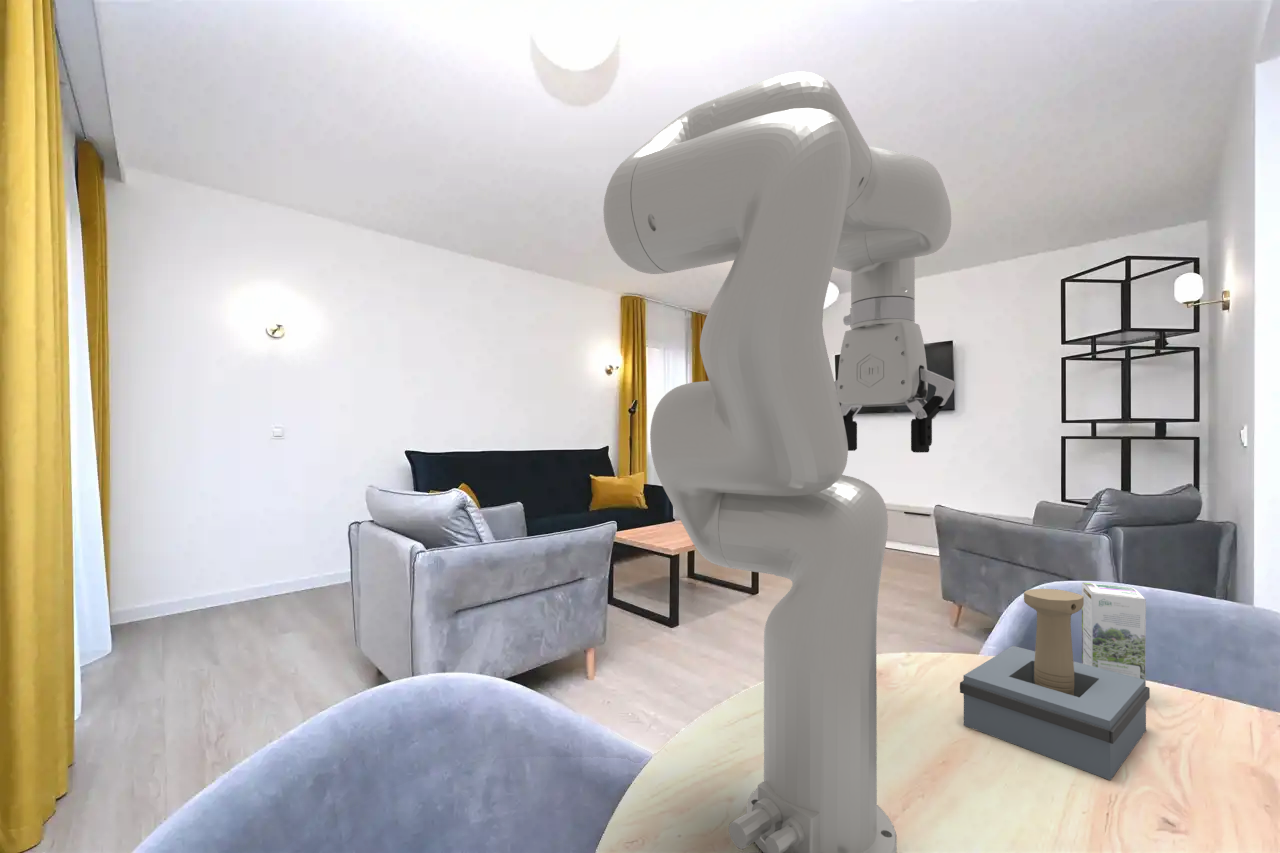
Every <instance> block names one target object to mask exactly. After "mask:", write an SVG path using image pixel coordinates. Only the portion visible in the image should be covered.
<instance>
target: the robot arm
mask: <svg viewBox="0 0 1280 853" xmlns="http://www.w3.org/2000/svg"><path fill="white" fill-rule="evenodd" d="M951 208H952V207H951V203H950V200H949V196H948V192H947V190H946V186H945V184H944V181H943V179H942V176H941V174H940V172H939V171H938V169H937V168H936V167H935V166H934V165H933V163H930V161H928V160H926V159H924V158H921V157H919V156H915V155H912V154H909V153H903V152H898V151H894V150H890V149H885V148H881V147H876V146H869V145H868V144H867V142H866V140H865V139H864V136H863V134H862V133H861V132H860V129H859V128H858V126H857V124H856V122H855V120H854V118H853V116H852V115H851V113H850V111H849V109H848V108H847V106H846V104H845V102H844V100H843V98H842V97H841V95H840V94H839V92H838V90H837V89H836V88H835V86H834V85H833V84H832V83H831V82H830V81H829V80H828V79H826V78H825V77H823V76H822V75H820V74H816V73H814V72H810V71H793V72H792V71H791V72H787V73H783V74H779V75H775V76H772V77H770V78H766V79H764V80H762V81H758V82H756V83H754V84H750V85H748V86H745V87H743V88H740V89H738V90H736V91H733V92H730V93H727V94H724V95H722V96H719V97H716V98H713V99H711V100H709V101H706V102H703V103H700V104H698V105H696V106H694V107H692V108H690V109H689V110H687V111H685V112H684V113H683V114H681V115H680V116H678V117H676V118H675V119H674V120H672V121H671V122H670V123H669V124H668V125H667V126H665V127H664V128H663V129H661V130H660V131H659V132H658V133H656V134H655V135H654V136H653V137H651V138H650V139H649V140H648V141H647V142H646V143H644V144H643V145H641V147H639V148H638V149H637V150H635V151H634V152H633V153H631V154H630V155H629V156H628V157H627V158H625V160H623V161H622V162H621V163H620V164H619V166H617V168H616V170H615V171H614V172H613V173H612V176H611V178H610V180H609V182H608V184H607V187H606V191H605V194H604V201H603V223H604V227H605V232H606V235H607V238H608V241H609V243H610V246H611V247H612V249H613V251H614V253H616V255H617V256H618V257H619V259H620V260H621V261H622V262H623V263H625V264H626V265H627V266H628V267H630V268H631V269H634V270H636V271H637V272H639V273H645V274H650V275H659V274H661V275H663V274H668V273H675V272H681V271H685V270H690V269H696V268H702V267H707V266H711V265H717V264H724V263H727V262H731V261H733V263H732V265H731V267H730V269H729V272H728V274H727V276H726V277H725V279H724V281H723V283H722V285H721V286H720V289H719V291H718V292H717V294H716V295H715V298H714V300H713V301H712V304H711V305H710V307H709V310H708V313H707V315H706V316H705V319H704V323H703V327H702V330H701V335H700V339H699V340H700V341H699V352H700V356H701V360H702V364H703V367H704V370H705V373H706V376H707V378H708V380H705V381H704V380H703V381H694V382H689V383H688V382H687V383H684V384H680V385H679V386H676V387H674V388H672V389H670V391H668V392H667V393H665V395H664V396H662V398H661V399H660V400H659V401H658V403H657V405H656V407H655V409H654V412H653V415H652V419H651V424H650V433H649V441H650V452H651V457H652V463H653V465H654V469H655V472H656V474H657V477H658V480H659V481H660V484H661V485H662V488H663V490H664V492H665V493H666V495H667V497H668V500H669V501H670V502H671V505H672V507H673V508H674V510H675V513H676V514H677V516H678V518H679V520H680V522H681V524H682V526H683V527H684V529H685V531H686V533H687V535H688V537H689V538H690V540H691V542H692V544H693V546H694V547H695V548H696V550H697V552H698V553H699V554H700V555H701V556H702V557H703V558H704V559H705V560H706V561H708V562H709V563H711V564H714V565H716V566H720V567H723V568H727V569H734V570H741V571H748V572H752V573H753V572H754V573H761V574H768V575H774V576H776V577H780V578H785V579H788V580H790V581H791V582H792V585H791V588H790V589H789V590H788V592H787V593H786V594H785V595H784V596H783V597H782V598H781V599H780V600H779V601H778V602H777V603H776V604H775V606H774V607H773V608H772V610H771V611H770V613H769V614H768V616H767V619H766V621H765V626H764V630H763V632H764V633H763V781H762V782H760V783H758V784H757V788H755V789H754V791H753V792H752V793H751V794H750V796H749V798H748V799H747V803H746V813H744V814H743V815H741V816H739V817H737V818H736V819H735V820H733V821H731V822H730V824H729V826H728V833H729V837H730V840H731V841H732V843H733V845H735V847H737V848H738V849H740V850H744V849H745V848H747V847H748V846H750V845H752V844H753V843H755V844H756V845H757V847H758V848H759V850H760V851H762V852H763V853H897V852H898V851H897V850H898V844H897V833H896V832H897V831H896V830H895V826H894V824H893V822H892V821H891V819H890V817H889V816H888V815H887V814H886V813H885V811H884V810H883V809H882V808H881V807H880V806H879V805H878V802H877V801H878V798H877V796H878V794H877V792H878V790H877V787H878V785H877V782H878V778H877V776H878V775H877V774H878V772H877V770H878V768H877V766H878V764H877V763H878V762H877V760H878V758H877V757H878V756H877V755H878V754H877V747H878V746H877V743H878V742H877V736H878V735H877V732H878V731H877V728H878V727H877V725H878V724H877V723H878V722H877V716H878V715H877V714H878V713H877V708H878V707H877V703H878V702H877V698H878V697H877V694H878V693H877V690H878V689H877V687H878V686H877V682H878V679H877V628H878V627H877V624H878V606H879V605H878V603H879V592H880V584H881V583H880V582H881V577H882V576H881V575H882V569H883V563H884V562H883V561H884V557H885V551H886V545H887V539H888V528H889V525H888V523H889V519H888V518H889V517H888V516H889V514H888V508H887V506H886V503H885V501H884V499H883V497H882V495H881V494H880V492H878V490H877V489H875V487H874V486H872V485H871V484H869V483H867V482H865V481H864V480H861V479H860V478H856V477H853V476H849V475H844V471H845V469H846V467H847V463H848V458H849V457H848V455H849V452H850V451H853V452H855V451H856V450H857V449H858V423H857V421H856V420H854V418H855V417H856V415H857V414H859V413H858V412H860V411H861V409H862V407H863V408H864V407H867V408H868V407H892V406H893V407H895V406H896V407H897V406H907V408H908V409H909V410H910V411H911V412H912V413H913V415H914V416H915V418H912V419H911V421H910V451H911V452H913V453H916V454H917V453H929V452H930V446H932V445H933V444H932V443H933V420H935V419H936V418H937V415H938V414H939V413H940V412H941V410H943V409H944V407H945V406H946V405H947V404H948V400H949V398H950V397H951V395H952V394H953V391H954V388H955V387H956V382H955V381H954V380H953V379H949V378H947V377H945V376H943V375H941V374H938V373H936V372H934V371H932V370H931V371H930V370H928V364H927V358H926V357H927V356H926V349H925V343H924V338H923V334H922V329H921V326H920V324H919V323H916V311H915V310H916V306H915V305H916V304H915V302H916V301H915V299H916V298H915V296H916V292H915V291H916V286H915V283H916V282H915V281H916V280H915V279H916V278H915V275H916V274H915V272H916V270H915V268H916V267H915V264H916V262H915V260H916V258H918V257H925V256H928V255H931V254H932V255H933V254H934V253H937V252H938V251H939V250H940V249H942V248H943V246H944V245H945V243H946V242H947V240H948V238H949V236H950V232H951V228H952V209H951ZM834 268H835V269H838V270H841V271H845V272H846V271H847V272H850V275H851V278H850V288H851V289H850V306H851V307H850V308H849V311H850V312H849V314H848V315H844V316H843V320H842V321H843V324H844V325H845V326H850V330H846V331H845V332H844V336H843V338H842V339H843V340H842V342H841V343H842V344H841V348H840V353H839V354H840V355H839V363H838V370H837V371H838V372H837V373H838V374H837V379H836V380H835V379H834V375H833V371H832V367H831V362H830V360H829V358H830V357H829V355H828V350H827V345H826V341H825V336H824V335H825V334H824V328H823V318H824V307H825V303H826V302H825V300H826V297H827V293H828V287H829V284H830V280H831V278H832V272H833V269H834ZM929 384H930V385H932V386H934V387H935V392H934V393H935V394H934V395H933V396H932V397H930V399H929V400H928V401H927V400H926V399H927V397H928V387H929Z"/></svg>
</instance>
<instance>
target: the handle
mask: <svg viewBox="0 0 1280 853" xmlns="http://www.w3.org/2000/svg"><path fill="white" fill-rule="evenodd" d="M1023 603H1025V605H1027V606H1029V607H1030V608H1032V609H1033V610H1035V612H1036V634H1035V648H1034V649H1035V650H1034V651H1035V662H1034V672H1035V673H1034V680H1035V684H1036V685H1039V686H1042V687H1046V688H1049V689H1052V690H1056V691H1059V692H1063V693H1066V694H1069V695H1073V696H1074V663H1073V661H1074V654H1073V641H1072V626H1071V624H1072V623H1071V622H1072V621H1071V620H1072V619H1071V616H1072V615H1073V614H1076V613H1077V612H1080V611H1082V607H1083V605H1084V596H1082V594H1079V593H1075V592H1074V591H1073V592H1072V591H1067V590H1063V589H1058V588H1057V589H1055V588H1034V589H1027V590H1025V591H1024V592H1023Z"/></svg>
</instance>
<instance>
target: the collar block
mask: <svg viewBox="0 0 1280 853" xmlns="http://www.w3.org/2000/svg"><path fill="white" fill-rule="evenodd" d="M1034 662H1035V650H1031V649H1027V648H1023V647H1018V646H1015V645H1011V646H1010V647H1008V648H1006V649H1004V650H1003V651H1001V652H1000V653H998V654H996V655H995V656H993V657H991V658H990V659H989V660H987V661H985V662H983V663H981V664H980V665H978V666H977V667H975V668H973V669H972V670H970V671H968V672H967V673H965V674H963V679H962V681H960V682H959V693H961V694H962V695H963V726H965V727H968V728H970V729H973V730H975V731H978V732H981V733H984V734H986V735H988V736H992V737H994V738H996V739H1000V740H1001V741H1005V742H1007V743H1010V744H1012V745H1013V744H1014V745H1016V746H1018V747H1020V748H1024V749H1026V750H1029V751H1031V752H1034V753H1037V754H1038V755H1039V754H1040V755H1042V756H1044V757H1048V758H1050V759H1052V760H1055V761H1058V762H1061V763H1063V764H1066V765H1068V766H1072V767H1074V768H1077V769H1079V770H1082V771H1085V772H1086V773H1090V774H1092V775H1094V776H1098V777H1100V778H1103V779H1106V780H1109V781H1111V780H1112V779H1113V777H1115V775H1116V773H1117V772H1118V771H1119V769H1120V767H1121V766H1122V765H1123V763H1124V762H1125V761H1126V759H1127V758H1128V756H1129V755H1130V754H1131V752H1132V750H1134V748H1135V747H1136V745H1137V744H1138V743H1139V741H1140V740H1141V738H1142V737H1143V735H1144V734H1145V733H1146V731H1147V702H1148V700H1150V697H1151V696H1150V691H1151V690H1150V689H1151V688H1150V687H1149V686H1146V684H1147V683H1146V682H1147V681H1146V680H1147V679H1146V680H1144V679H1140V678H1136V677H1133V676H1129V675H1125V674H1121V673H1117V672H1113V671H1109V670H1105V669H1102V668H1098V667H1094V666H1090V665H1086V664H1082V662H1078V661H1075V660H1073V663H1074V696H1073V695H1069V694H1066V693H1063V692H1059V691H1056V690H1052V689H1049V688H1046V687H1042V686H1039V685H1036V684H1035V680H1034V673H1035V672H1034Z"/></svg>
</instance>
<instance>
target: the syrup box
mask: <svg viewBox="0 0 1280 853" xmlns="http://www.w3.org/2000/svg"><path fill="white" fill-rule="evenodd" d="M1081 595H1082V596H1084V605H1083V607H1082V609H1081V663H1082V664H1086V665H1090V666H1094V667H1098V668H1102V669H1105V670H1109V671H1113V672H1117V673H1121V674H1125V675H1129V676H1133V677H1136V678H1140V679H1144V680H1147V679H1146V663H1147V662H1146V661H1147V660H1146V646H1147V645H1146V644H1147V643H1146V636H1147V635H1146V632H1147V631H1146V629H1147V628H1146V626H1147V625H1146V624H1147V623H1146V622H1147V619H1146V618H1147V614H1146V613H1147V612H1146V611H1147V601H1146V600H1147V599H1146V598H1145V597H1144V596H1143V595H1142V594H1141V593H1140V592H1139V591H1138V590H1137V589H1136V588H1134V587H1131V586H1124V585H1111V584H1104V583H1103V584H1101V583H1094V582H1082V583H1081Z"/></svg>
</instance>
